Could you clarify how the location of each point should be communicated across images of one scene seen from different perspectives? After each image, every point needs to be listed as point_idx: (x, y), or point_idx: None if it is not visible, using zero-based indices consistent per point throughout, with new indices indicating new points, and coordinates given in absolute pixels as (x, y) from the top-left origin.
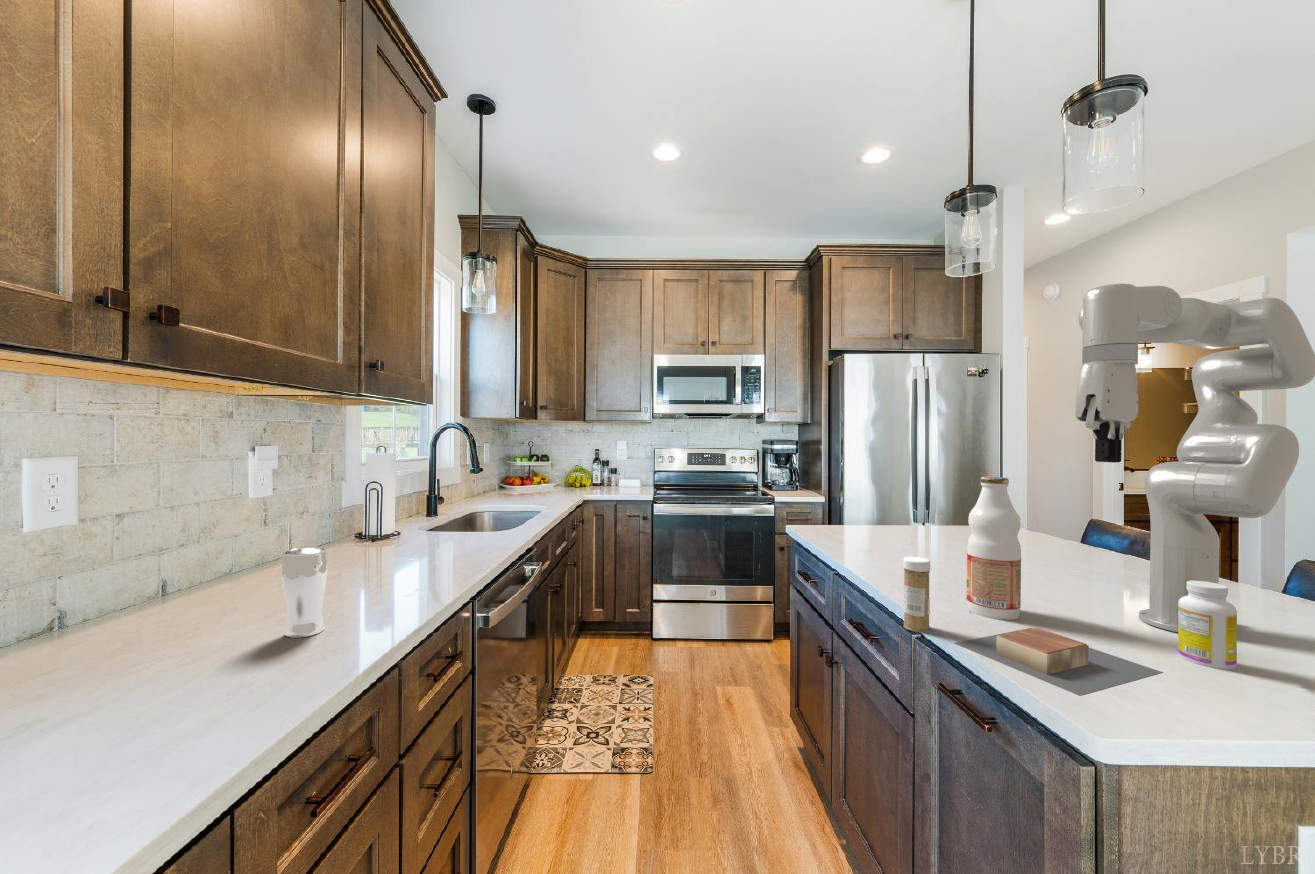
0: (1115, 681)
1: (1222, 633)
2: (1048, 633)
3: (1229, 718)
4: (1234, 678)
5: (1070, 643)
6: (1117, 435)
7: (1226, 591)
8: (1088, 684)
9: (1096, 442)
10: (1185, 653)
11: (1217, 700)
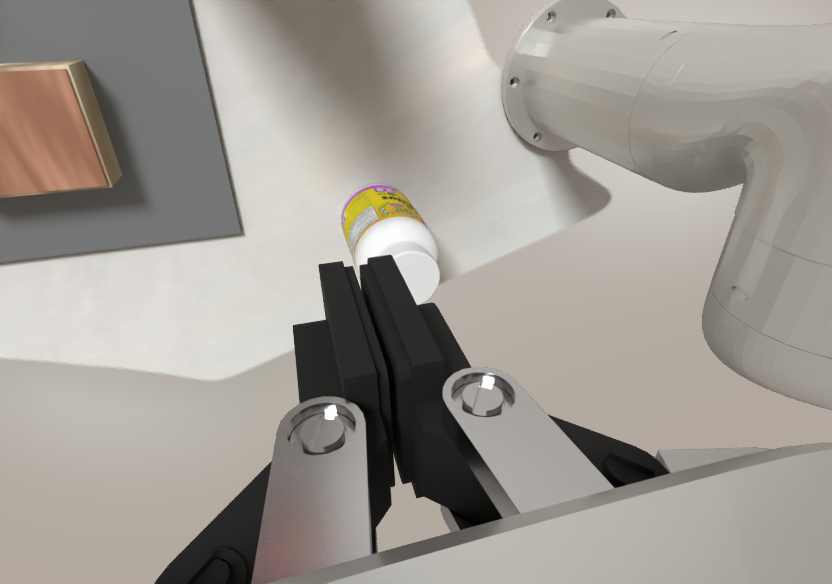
0: (106, 240)
1: None
2: (62, 111)
3: (185, 338)
4: (348, 261)
5: (67, 174)
6: (446, 507)
7: None
8: (34, 238)
9: (341, 362)
10: (343, 212)
11: (231, 303)
